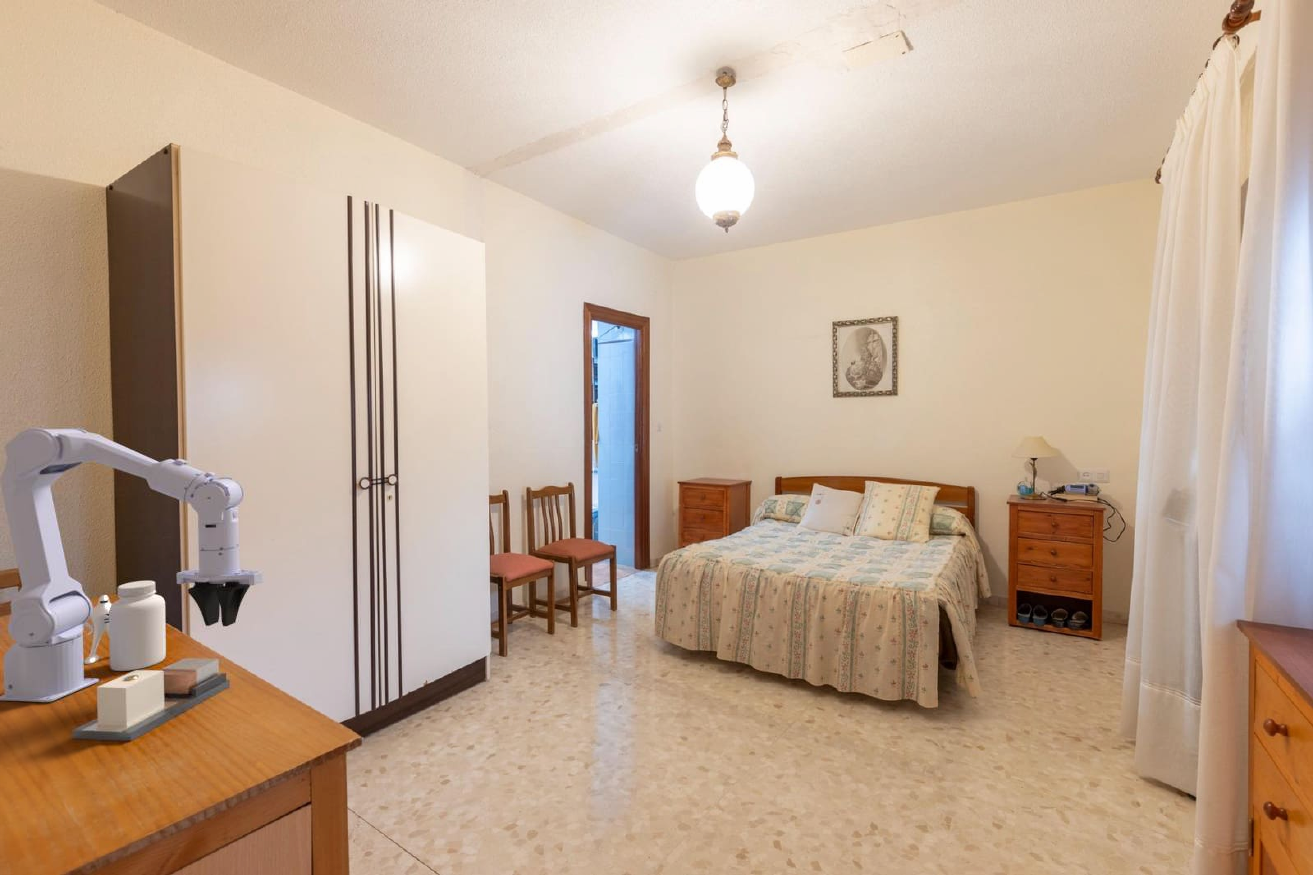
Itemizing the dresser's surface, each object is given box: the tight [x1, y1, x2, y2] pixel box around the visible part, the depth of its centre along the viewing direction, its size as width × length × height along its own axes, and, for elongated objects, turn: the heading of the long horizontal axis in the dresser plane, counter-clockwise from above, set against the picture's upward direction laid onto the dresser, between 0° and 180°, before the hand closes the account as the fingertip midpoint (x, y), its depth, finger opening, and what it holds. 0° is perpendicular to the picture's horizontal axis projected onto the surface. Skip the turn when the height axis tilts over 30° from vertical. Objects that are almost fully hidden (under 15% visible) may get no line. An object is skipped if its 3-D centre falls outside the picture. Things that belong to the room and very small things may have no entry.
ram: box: [160, 657, 220, 694], centre depth 98 cm, size 6×6×4 cm
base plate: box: [72, 672, 231, 742], centre depth 93 cm, size 9×18×2 cm, turn 175°
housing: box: [96, 669, 164, 726], centre depth 89 cm, size 4×6×6 cm
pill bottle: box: [108, 580, 167, 672], centre depth 112 cm, size 8×8×15 cm
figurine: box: [83, 594, 113, 665], centre depth 114 cm, size 7×4×12 cm, turn 131°
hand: (220, 624), depth 105 cm, fingers open, 3 cm apart
